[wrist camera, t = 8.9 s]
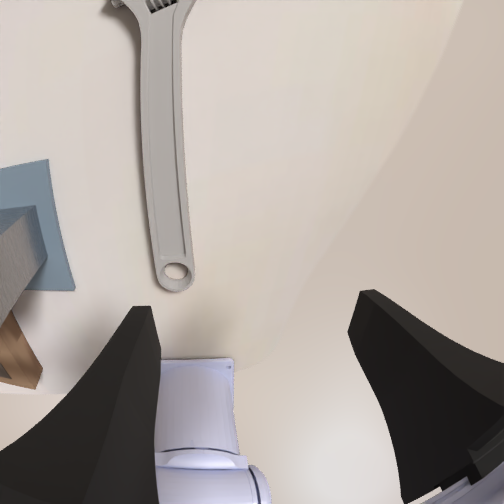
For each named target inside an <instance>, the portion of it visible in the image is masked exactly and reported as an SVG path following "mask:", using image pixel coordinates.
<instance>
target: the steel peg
mask: <svg viewBox="0 0 504 504" xmlns="http://www.w3.org/2000/svg"><path fill="white" fill-rule="evenodd" d="M47 257H48V254H47V251H46V247H45V243H44V239H43V235H42V231H41V227H40V223H39V218H38V214H37V209H36V205H31V206H23V207H15V208H8V209H1V210H0V327H1V325H2V324H3V322H4V320H5V319H6V317H7V315H8V314H9V312H10V310H11V309H12V307H13V306H14V304H15V303H16V301H17V299H18V298H19V296H20V295H21V293H22V292H23V290H24V289H25V287H26V286H27V285H28V283H29V282H30V280H31V279H32V277H33V276H34V275H35V273H36V272H37V270H38V269H39V268H40V266H41V265H42V264H43V262H44V261H45V260H46V258H47Z"/></svg>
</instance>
